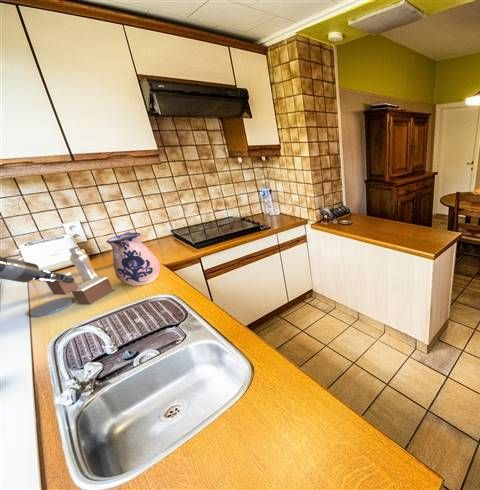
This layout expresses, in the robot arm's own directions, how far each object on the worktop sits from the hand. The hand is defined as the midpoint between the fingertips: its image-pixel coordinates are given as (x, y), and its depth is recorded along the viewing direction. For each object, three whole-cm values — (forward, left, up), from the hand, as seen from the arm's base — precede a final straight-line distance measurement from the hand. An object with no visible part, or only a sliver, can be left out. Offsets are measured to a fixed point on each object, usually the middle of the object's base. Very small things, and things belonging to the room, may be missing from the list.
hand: (65, 280), depth 114 cm
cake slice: (-1, -1, -4) cm, 5 cm away
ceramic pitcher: (+23, +9, -14) cm, 28 cm away
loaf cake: (+5, +5, -13) cm, 15 cm away
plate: (-10, +8, -13) cm, 18 cm away
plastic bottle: (+2, +26, -14) cm, 29 cm away
